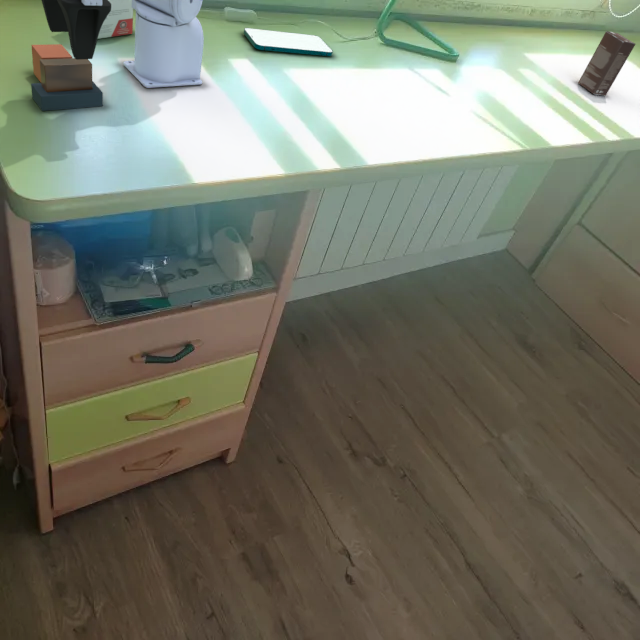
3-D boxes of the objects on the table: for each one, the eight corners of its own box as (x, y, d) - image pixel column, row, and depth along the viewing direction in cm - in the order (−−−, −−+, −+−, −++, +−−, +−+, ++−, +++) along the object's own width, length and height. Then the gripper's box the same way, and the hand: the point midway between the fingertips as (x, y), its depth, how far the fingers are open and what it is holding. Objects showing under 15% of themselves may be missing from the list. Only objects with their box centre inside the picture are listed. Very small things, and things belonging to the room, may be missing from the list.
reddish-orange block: (62, 72, 87) (61, 44, 84) (73, 85, 85) (72, 56, 82) (33, 73, 84) (31, 44, 82) (43, 86, 82) (41, 57, 80)
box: (606, 96, 140) (637, 43, 132) (592, 94, 138) (622, 41, 130) (590, 84, 144) (619, 32, 136) (576, 82, 142) (604, 30, 134)
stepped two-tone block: (92, 93, 84) (91, 54, 80) (102, 106, 82) (102, 66, 79) (32, 97, 80) (28, 56, 76) (42, 111, 78) (38, 69, 74)
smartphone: (317, 40, 121) (241, 32, 114) (318, 35, 120) (242, 27, 113) (333, 57, 116) (255, 50, 109) (334, 53, 116) (256, 45, 108)
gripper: (3, -109, 67) (16, 19, 76) (52, -62, 60) (60, 72, 69) (68, -101, 71) (73, 19, 80) (121, -57, 64) (119, 69, 73)
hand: (70, 44), depth 75 cm, fingers open, 7 cm apart
